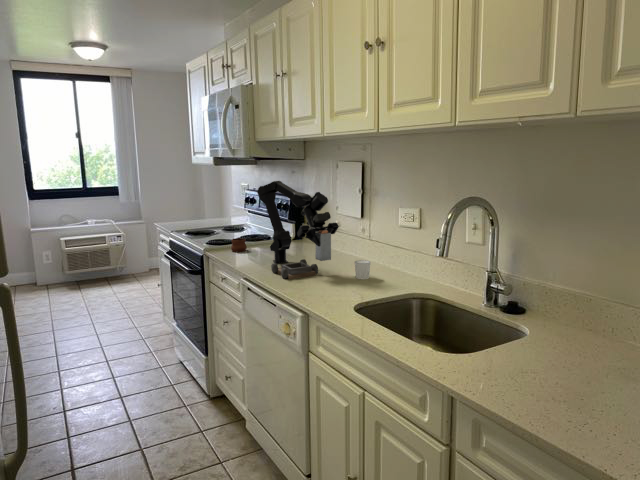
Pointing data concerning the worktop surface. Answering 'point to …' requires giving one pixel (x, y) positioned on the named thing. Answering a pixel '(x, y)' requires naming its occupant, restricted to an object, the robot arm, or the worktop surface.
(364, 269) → the shot glass
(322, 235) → the engine block
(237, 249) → the ceramic pot
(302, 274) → the chassis
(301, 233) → the robot arm
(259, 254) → the worktop surface
